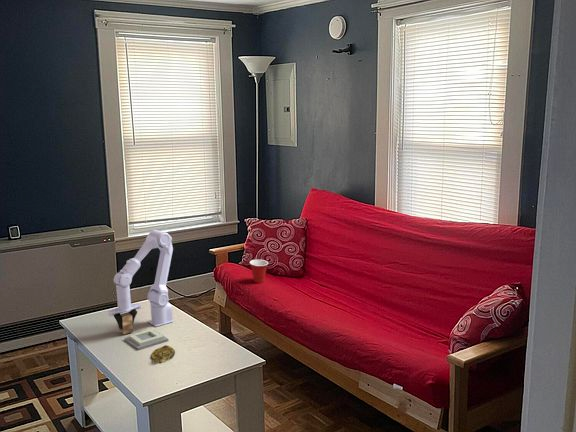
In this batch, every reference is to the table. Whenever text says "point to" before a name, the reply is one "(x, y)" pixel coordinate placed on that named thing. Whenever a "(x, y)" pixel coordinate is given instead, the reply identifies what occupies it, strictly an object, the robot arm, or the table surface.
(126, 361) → the table surface
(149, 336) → the plate
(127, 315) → the tan block
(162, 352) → the mottled brown rock
